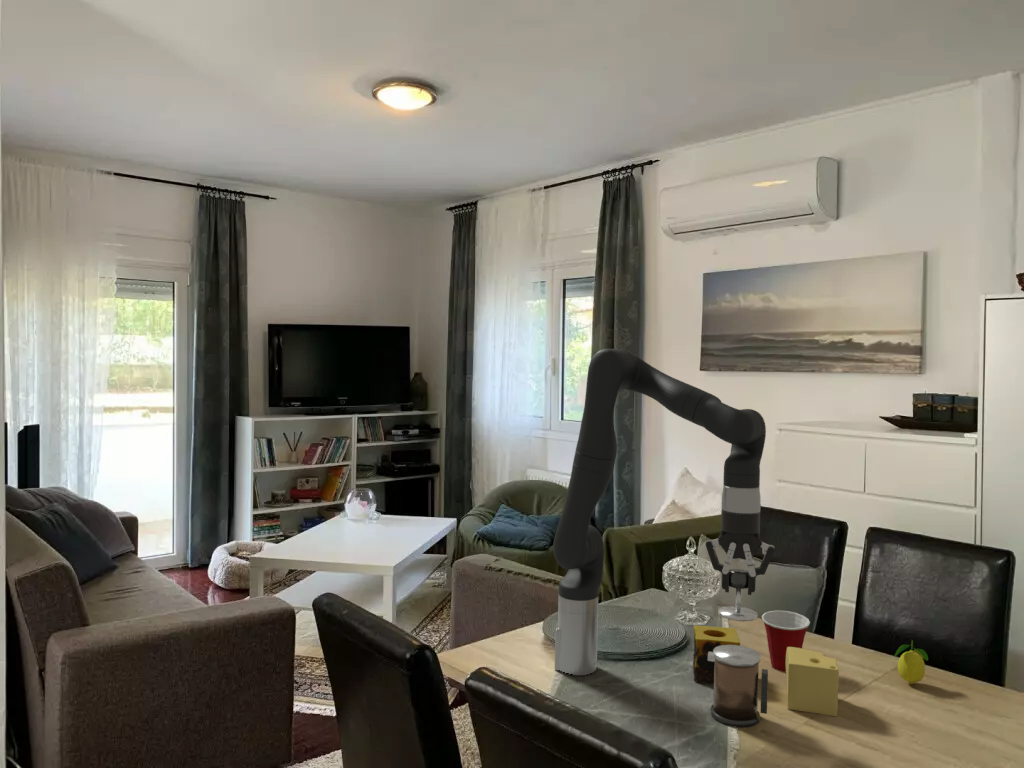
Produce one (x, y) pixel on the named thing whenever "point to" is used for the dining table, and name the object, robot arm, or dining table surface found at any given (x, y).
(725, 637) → the yellow patterned cube
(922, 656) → the lemon
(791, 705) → the cheese
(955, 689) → the dining table surface
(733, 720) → the carafe
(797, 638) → the plastic cup
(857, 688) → the dining table surface
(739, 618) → the plunger
